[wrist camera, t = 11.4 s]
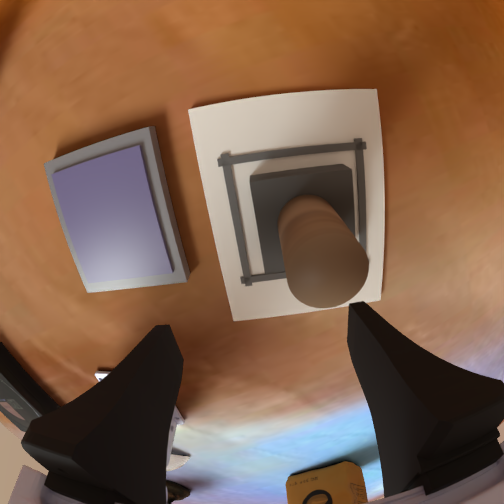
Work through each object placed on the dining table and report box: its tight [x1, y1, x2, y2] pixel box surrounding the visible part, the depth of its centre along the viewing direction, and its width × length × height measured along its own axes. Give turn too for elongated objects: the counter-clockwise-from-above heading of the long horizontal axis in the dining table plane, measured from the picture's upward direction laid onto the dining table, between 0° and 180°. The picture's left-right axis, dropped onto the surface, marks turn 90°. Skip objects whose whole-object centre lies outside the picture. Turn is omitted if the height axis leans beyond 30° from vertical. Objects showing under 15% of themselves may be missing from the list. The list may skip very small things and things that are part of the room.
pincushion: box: [166, 454, 190, 471], centre depth 34 cm, size 12×6×6 cm, turn 105°
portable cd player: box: [0, 342, 60, 432], centre depth 31 cm, size 16×17×4 cm
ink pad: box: [44, 126, 190, 293], centre depth 19 cm, size 11×9×2 cm
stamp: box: [249, 164, 369, 308], centre depth 16 cm, size 6×6×8 cm
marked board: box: [188, 89, 385, 321], centre depth 20 cm, size 16×12×1 cm
